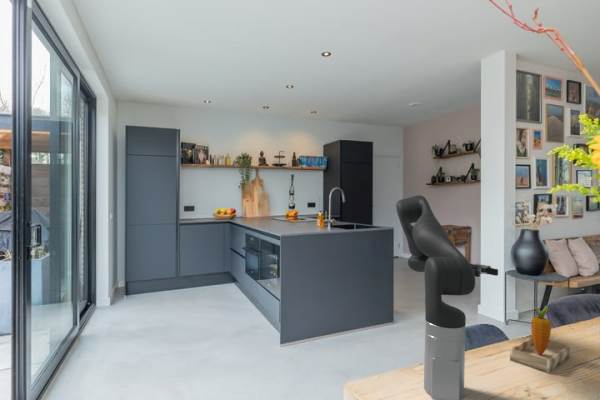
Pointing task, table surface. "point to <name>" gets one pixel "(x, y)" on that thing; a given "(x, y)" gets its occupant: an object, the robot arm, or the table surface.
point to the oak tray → (546, 361)
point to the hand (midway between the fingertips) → (488, 273)
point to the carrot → (540, 331)
